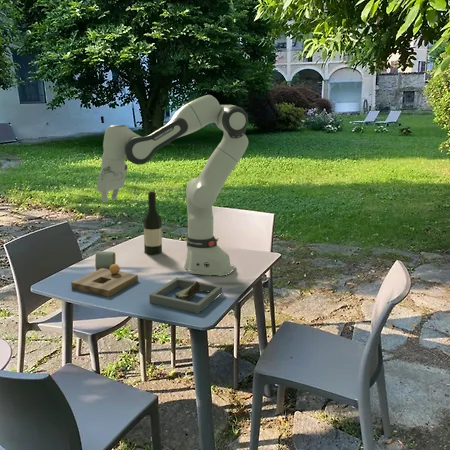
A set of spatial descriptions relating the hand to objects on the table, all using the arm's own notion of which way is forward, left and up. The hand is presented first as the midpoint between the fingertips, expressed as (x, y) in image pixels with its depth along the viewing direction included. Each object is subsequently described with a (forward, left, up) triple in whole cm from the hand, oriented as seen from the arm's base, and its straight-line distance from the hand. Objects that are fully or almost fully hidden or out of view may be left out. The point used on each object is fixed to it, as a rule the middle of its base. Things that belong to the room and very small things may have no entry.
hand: (109, 200), depth 178 cm
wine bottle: (+2, -33, -32) cm, 46 cm away
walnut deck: (-4, +10, -32) cm, 33 cm away
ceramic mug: (+9, -7, -32) cm, 34 cm away
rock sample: (-38, +6, -32) cm, 50 cm away
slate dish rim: (-39, +7, -32) cm, 51 cm away
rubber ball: (-4, +4, -27) cm, 28 cm away
